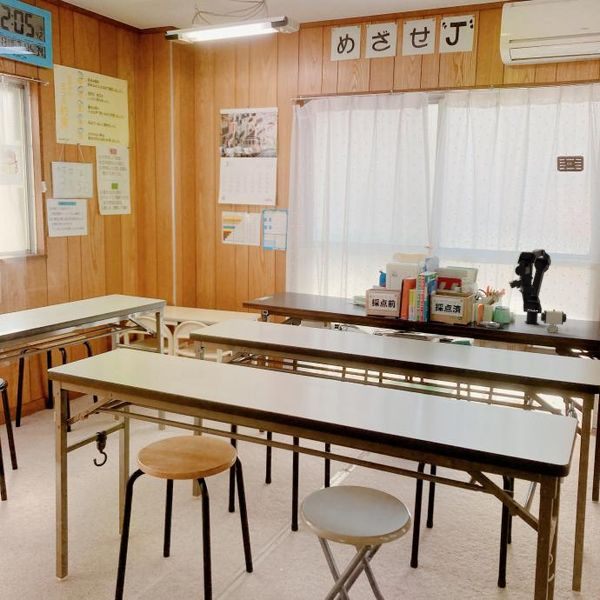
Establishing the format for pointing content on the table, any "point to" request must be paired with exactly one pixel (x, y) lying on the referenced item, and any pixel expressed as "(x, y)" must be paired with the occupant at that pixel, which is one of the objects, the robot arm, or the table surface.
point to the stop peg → (501, 325)
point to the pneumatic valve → (553, 319)
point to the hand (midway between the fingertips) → (524, 303)
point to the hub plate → (491, 327)
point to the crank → (481, 317)
